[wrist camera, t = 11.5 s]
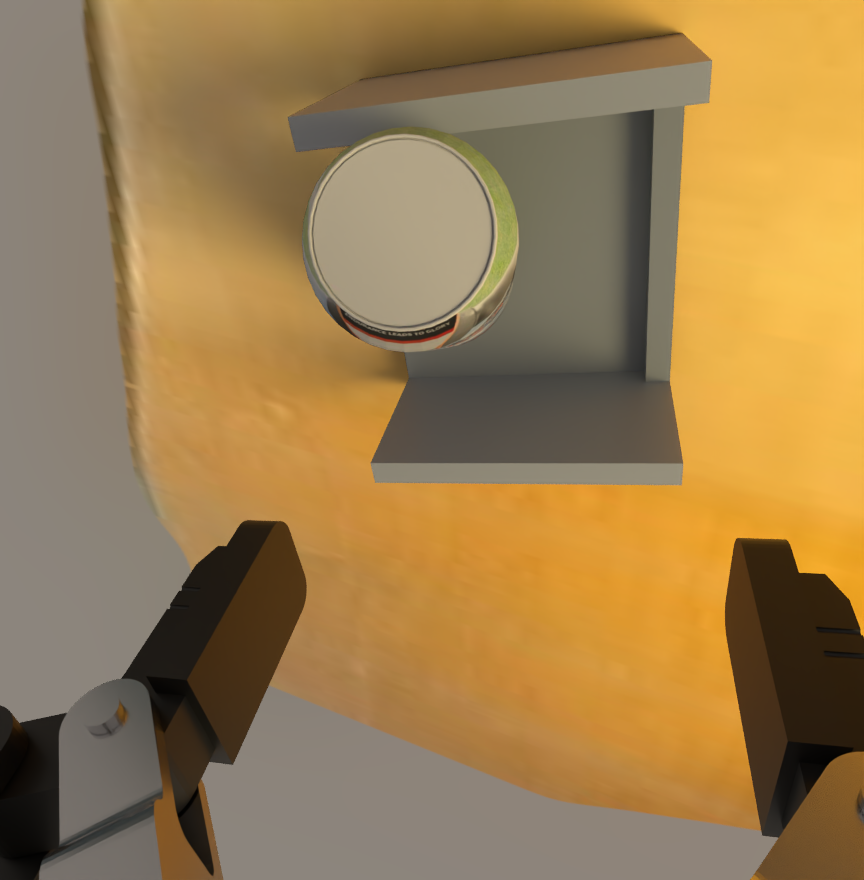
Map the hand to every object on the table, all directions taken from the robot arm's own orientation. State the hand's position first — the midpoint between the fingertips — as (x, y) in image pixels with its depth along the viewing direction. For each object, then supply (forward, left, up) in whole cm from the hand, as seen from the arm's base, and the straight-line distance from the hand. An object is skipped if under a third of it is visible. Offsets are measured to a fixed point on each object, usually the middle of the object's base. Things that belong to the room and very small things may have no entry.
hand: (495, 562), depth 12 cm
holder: (+1, -1, -20) cm, 20 cm away
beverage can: (+1, -4, -19) cm, 19 cm away
